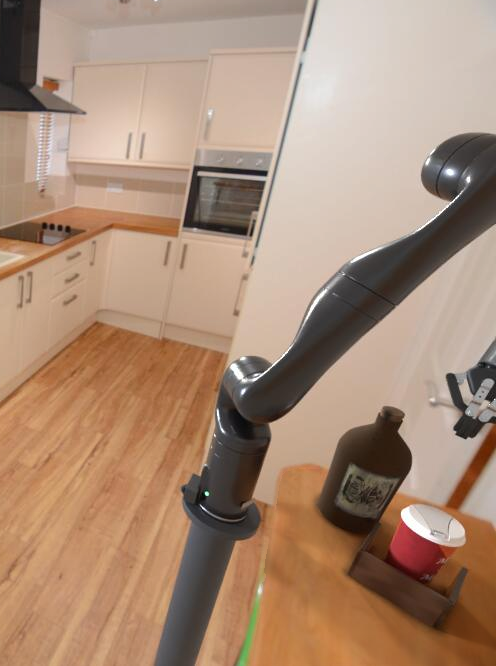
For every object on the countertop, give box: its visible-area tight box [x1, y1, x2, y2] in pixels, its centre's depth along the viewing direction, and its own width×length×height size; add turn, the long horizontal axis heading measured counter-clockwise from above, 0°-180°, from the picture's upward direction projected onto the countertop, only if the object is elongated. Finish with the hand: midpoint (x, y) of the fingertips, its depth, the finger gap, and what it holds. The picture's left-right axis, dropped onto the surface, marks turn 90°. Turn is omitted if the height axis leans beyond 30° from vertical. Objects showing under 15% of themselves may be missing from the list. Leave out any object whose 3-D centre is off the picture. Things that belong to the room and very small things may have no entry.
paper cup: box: [383, 503, 467, 587], centre depth 75 cm, size 8×8×14 cm
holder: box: [346, 521, 469, 631], centre depth 76 cm, size 12×10×6 cm
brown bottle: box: [317, 405, 413, 534], centre depth 85 cm, size 11×11×25 cm
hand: (460, 437), depth 79 cm, fingers closed
